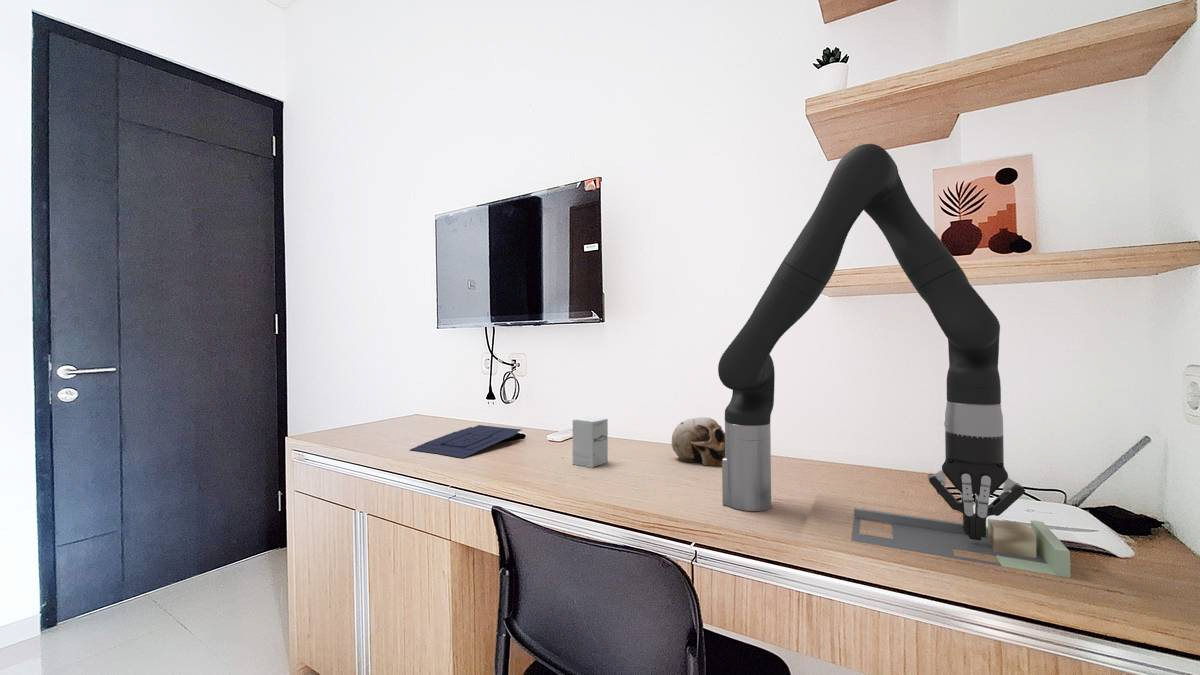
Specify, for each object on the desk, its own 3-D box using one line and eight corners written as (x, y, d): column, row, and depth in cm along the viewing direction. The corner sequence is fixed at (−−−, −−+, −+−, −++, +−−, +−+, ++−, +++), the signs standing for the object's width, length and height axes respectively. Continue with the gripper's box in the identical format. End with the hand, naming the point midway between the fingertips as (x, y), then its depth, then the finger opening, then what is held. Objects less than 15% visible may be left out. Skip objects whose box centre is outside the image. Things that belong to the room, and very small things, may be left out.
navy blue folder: (527, 437, 173) (527, 427, 173) (464, 467, 148) (463, 455, 147) (476, 431, 186) (475, 422, 185) (409, 457, 160) (408, 446, 159)
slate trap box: (851, 549, 82) (851, 519, 82) (854, 524, 93) (854, 497, 93) (1070, 588, 69) (1070, 551, 69) (1043, 553, 80) (1042, 521, 80)
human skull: (748, 464, 138) (742, 416, 138) (690, 475, 133) (684, 426, 134) (721, 454, 153) (715, 410, 153) (668, 464, 149) (663, 419, 149)
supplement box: (592, 468, 136) (592, 421, 136) (571, 464, 140) (571, 419, 140) (608, 462, 141) (608, 418, 142) (588, 459, 146) (587, 416, 146)
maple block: (994, 551, 77) (994, 528, 77) (988, 540, 82) (987, 518, 82) (1036, 558, 75) (1036, 534, 75) (1027, 546, 79) (1027, 524, 79)
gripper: (926, 430, 80) (927, 538, 80) (1032, 438, 74) (1034, 555, 74) (922, 424, 87) (923, 523, 87) (1020, 430, 81) (1021, 537, 80)
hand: (974, 538), depth 80 cm, fingers closed
